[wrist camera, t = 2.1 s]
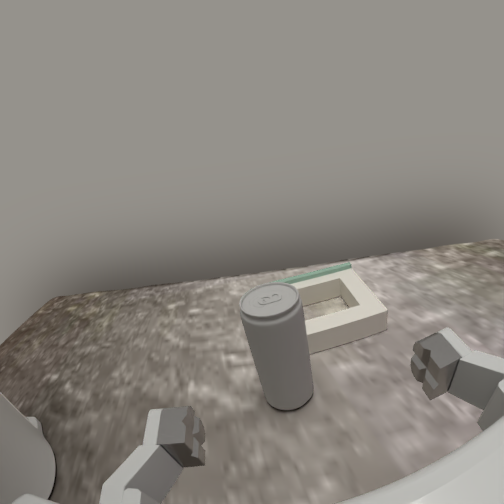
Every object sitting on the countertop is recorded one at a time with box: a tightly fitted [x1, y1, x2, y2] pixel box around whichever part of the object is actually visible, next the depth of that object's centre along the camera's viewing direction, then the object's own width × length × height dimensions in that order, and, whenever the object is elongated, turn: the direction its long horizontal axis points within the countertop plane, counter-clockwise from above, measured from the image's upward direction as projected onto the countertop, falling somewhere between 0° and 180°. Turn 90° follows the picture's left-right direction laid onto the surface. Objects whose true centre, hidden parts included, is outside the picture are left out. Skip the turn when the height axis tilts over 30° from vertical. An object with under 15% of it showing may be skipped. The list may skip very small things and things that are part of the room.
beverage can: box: [239, 282, 313, 410], centre depth 24 cm, size 5×5×12 cm
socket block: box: [269, 262, 388, 354], centre depth 36 cm, size 12×12×4 cm
